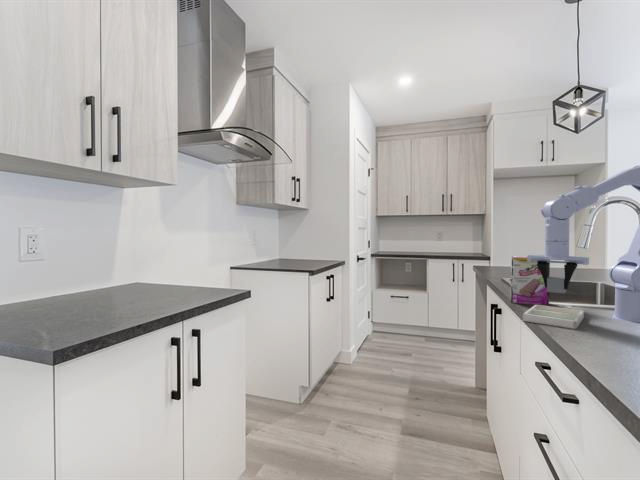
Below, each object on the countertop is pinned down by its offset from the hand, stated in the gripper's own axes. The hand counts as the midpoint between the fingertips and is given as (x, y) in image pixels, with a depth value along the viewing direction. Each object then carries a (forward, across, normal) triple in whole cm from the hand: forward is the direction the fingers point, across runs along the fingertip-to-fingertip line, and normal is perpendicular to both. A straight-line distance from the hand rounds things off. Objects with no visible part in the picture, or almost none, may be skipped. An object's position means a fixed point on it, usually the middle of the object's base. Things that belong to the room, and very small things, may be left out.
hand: (556, 288), depth 99 cm
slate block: (+1, 0, 0) cm, 1 cm away
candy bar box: (+9, -10, +15) cm, 20 cm away
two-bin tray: (+9, 0, -4) cm, 10 cm away
